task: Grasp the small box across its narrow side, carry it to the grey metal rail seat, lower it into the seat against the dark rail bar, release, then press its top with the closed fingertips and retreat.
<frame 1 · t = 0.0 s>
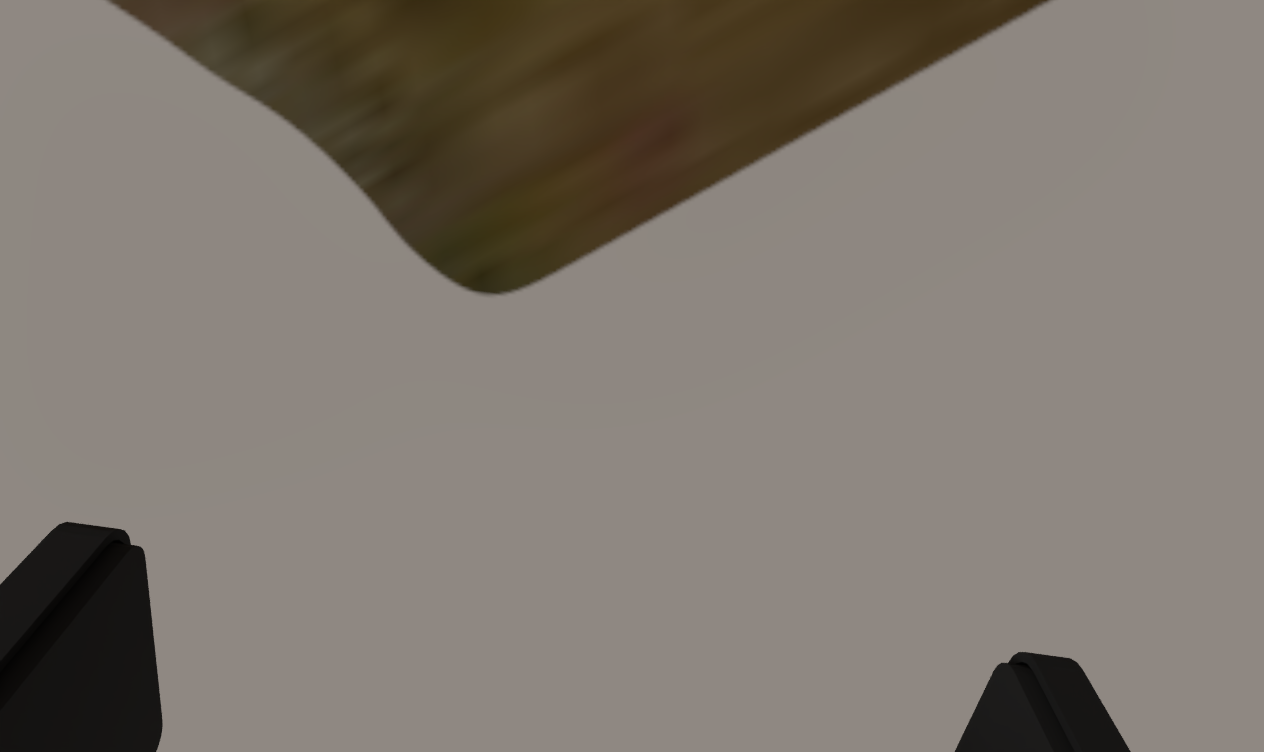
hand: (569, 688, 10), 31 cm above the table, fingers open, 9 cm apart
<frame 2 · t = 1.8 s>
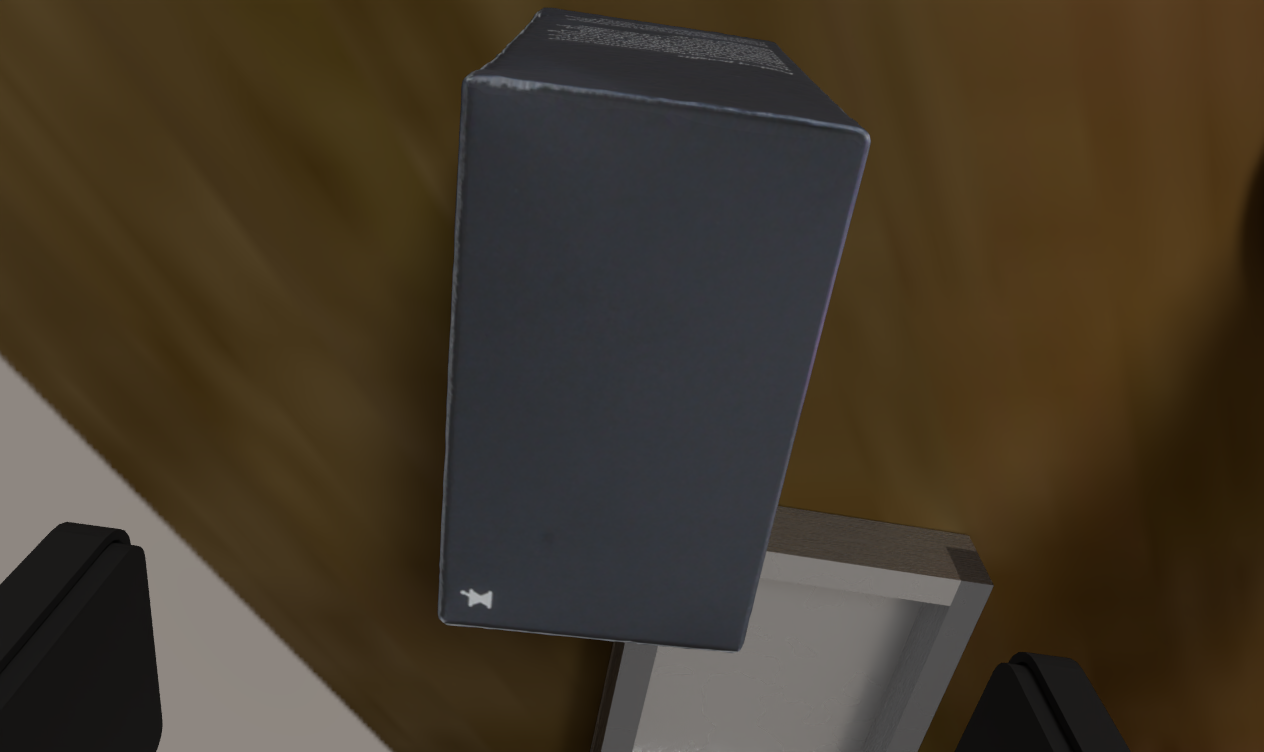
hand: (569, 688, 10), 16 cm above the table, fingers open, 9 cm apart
rail seat: (756, 674, 32), on the table
small box: (636, 224, 24), on the table
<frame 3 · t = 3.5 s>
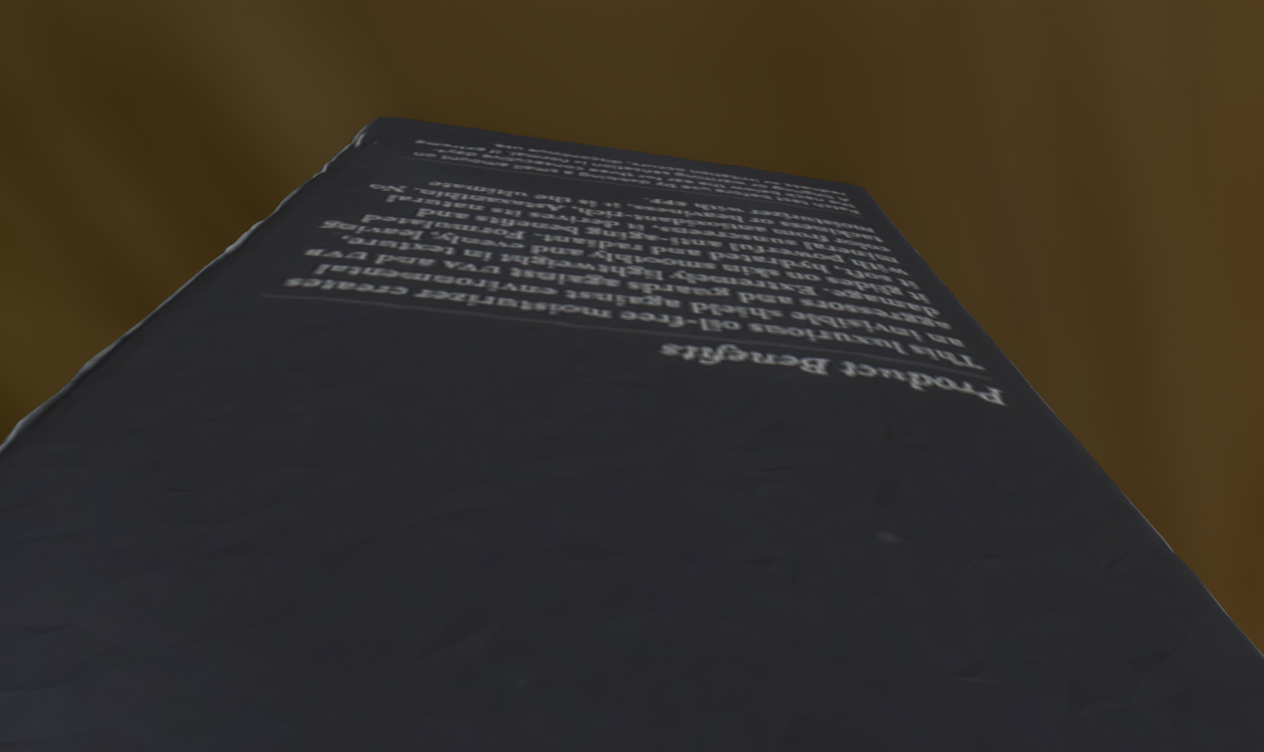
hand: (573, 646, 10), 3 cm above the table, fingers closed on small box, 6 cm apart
small box: (585, 498, 13), on the table, touching gripper
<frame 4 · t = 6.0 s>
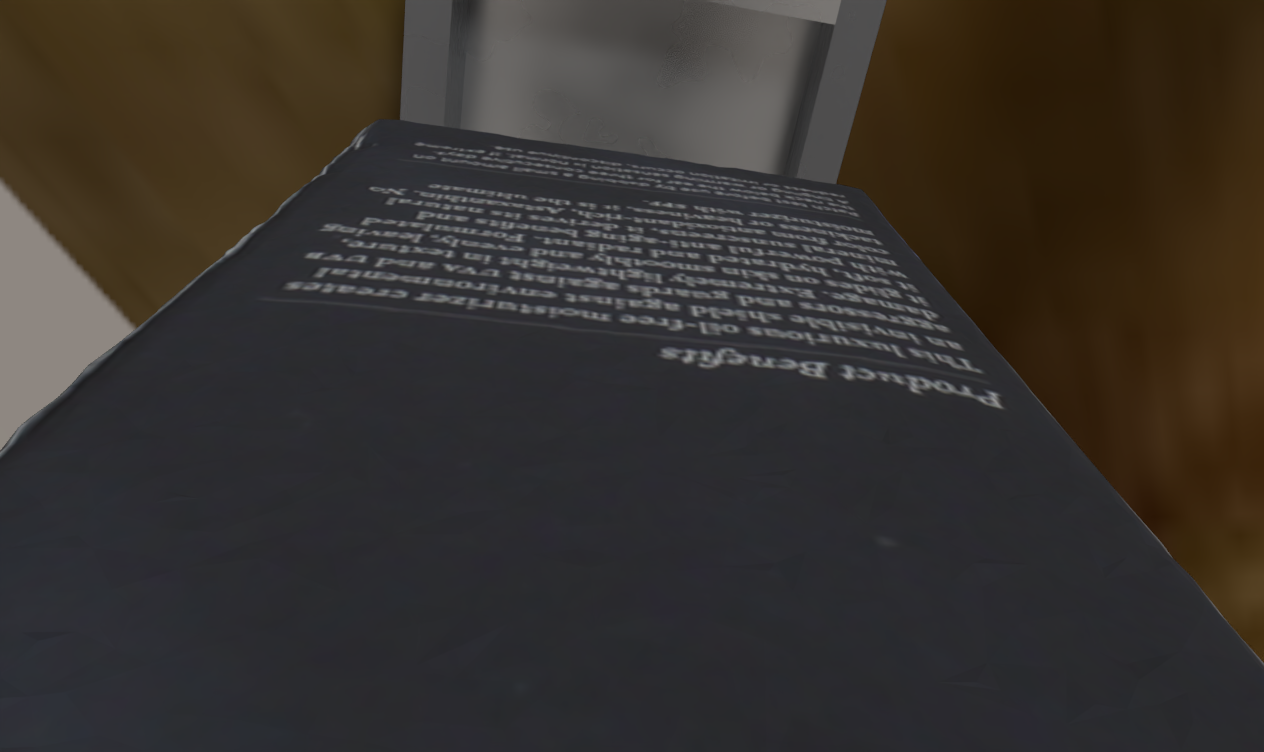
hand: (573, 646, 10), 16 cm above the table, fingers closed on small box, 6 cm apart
rail seat: (611, 223, 25), on the table
small box: (584, 499, 13), point 13 cm above the table, touching gripper
when the fingers open (5 cm above the table, at t = 8.5 s): small box drops 1 cm, resting on rail seat.
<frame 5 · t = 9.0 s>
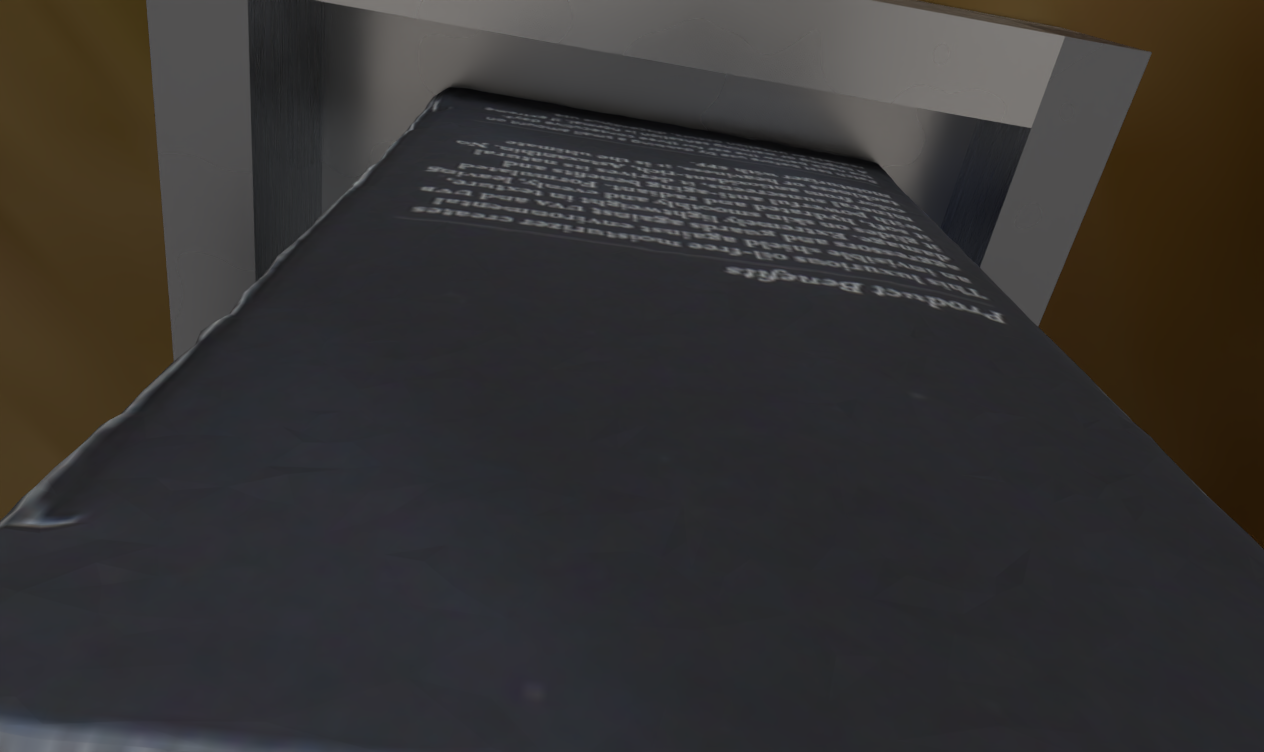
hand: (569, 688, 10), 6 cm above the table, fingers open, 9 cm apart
rail seat: (593, 429, 15), on the table
small box: (613, 445, 14), point 1 cm above the table, touching rail seat
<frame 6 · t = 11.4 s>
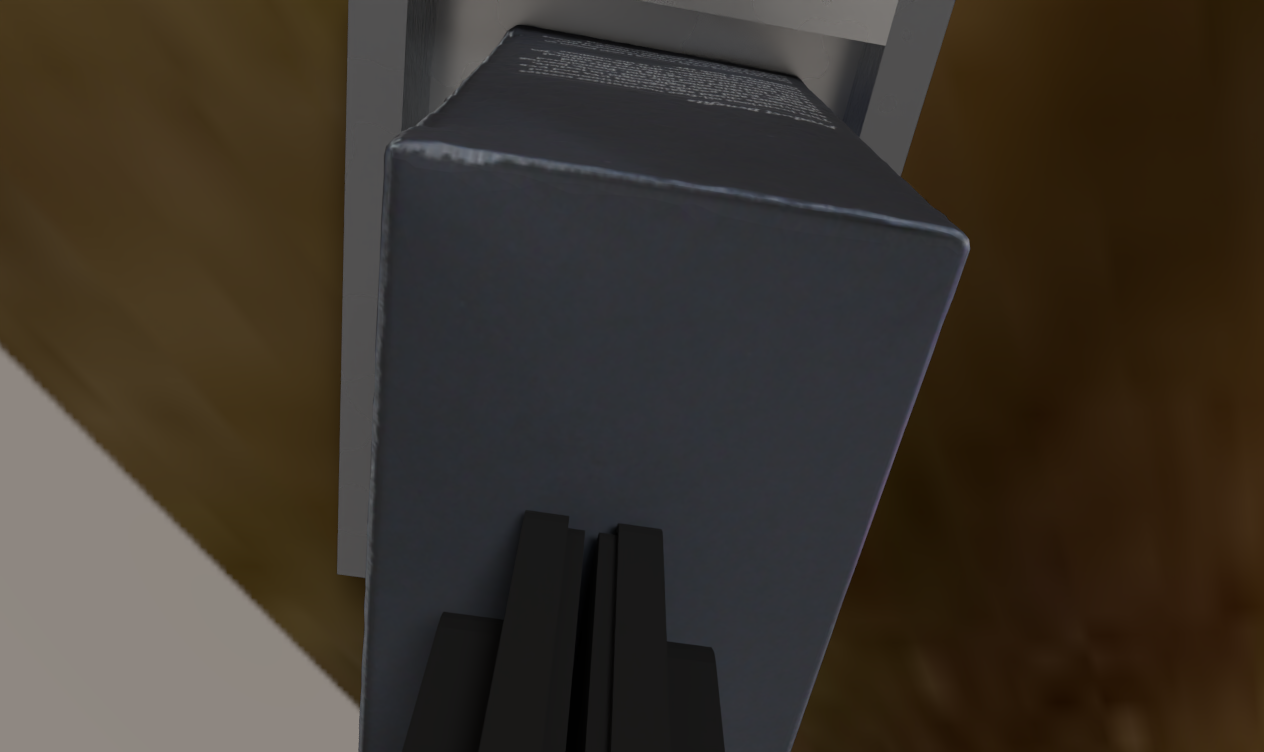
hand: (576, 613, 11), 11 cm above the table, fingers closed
rail seat: (607, 277, 21), on the table
small box: (622, 284, 20), point 1 cm above the table, touching gripper, rail seat
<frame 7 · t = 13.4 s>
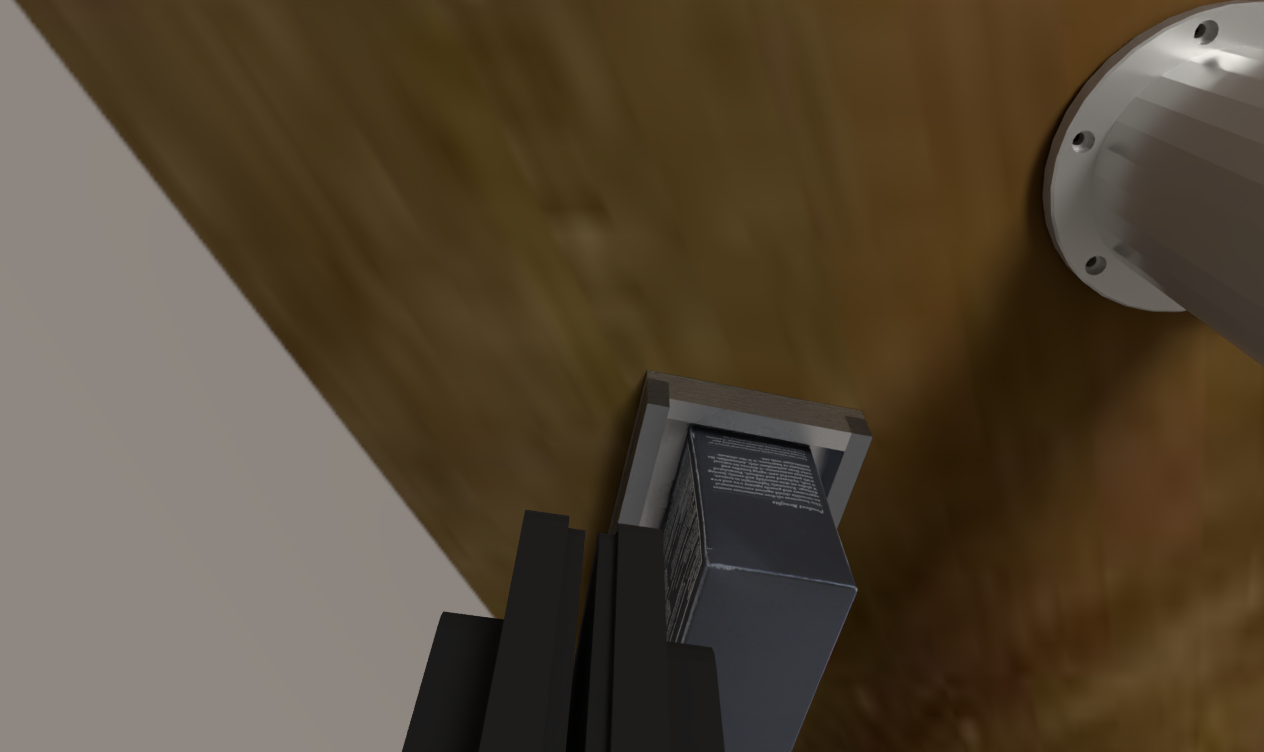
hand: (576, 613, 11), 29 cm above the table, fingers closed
rail seat: (717, 512, 46), on the table
small box: (726, 519, 45), point 1 cm above the table, touching rail seat
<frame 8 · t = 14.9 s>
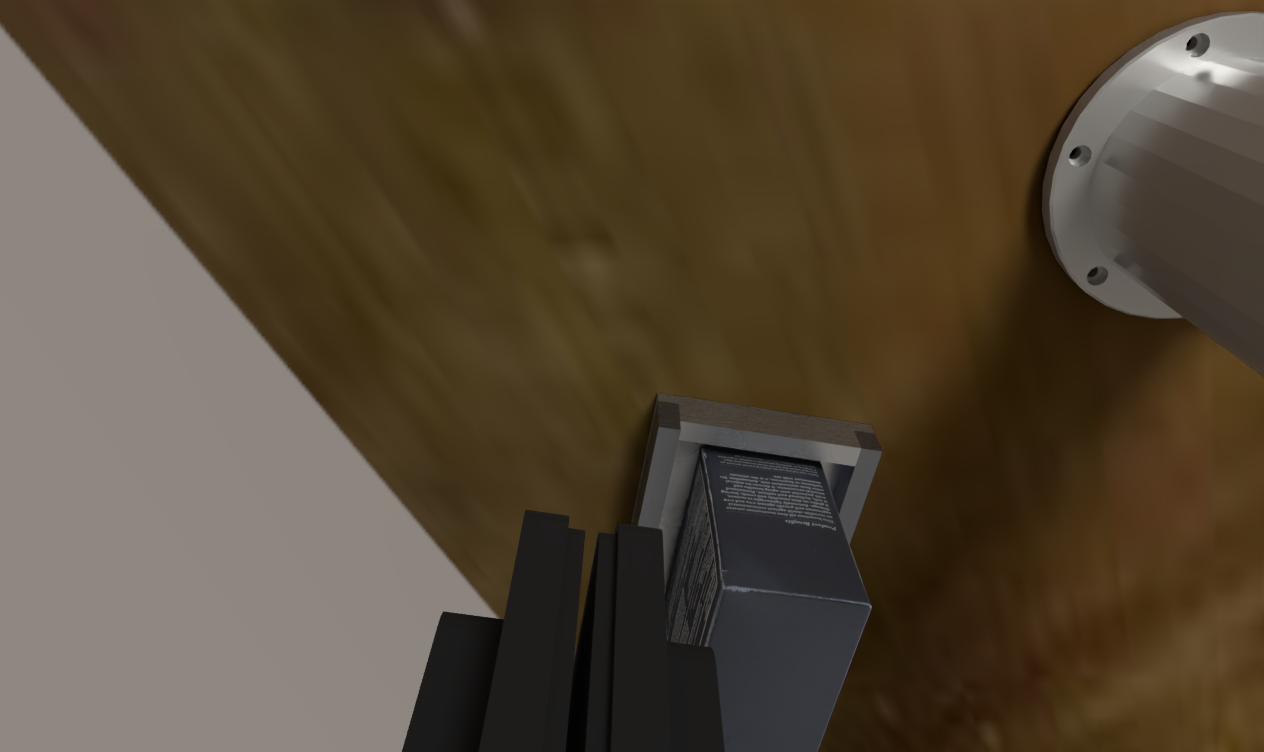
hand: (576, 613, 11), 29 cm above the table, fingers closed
rail seat: (732, 528, 46), on the table
small box: (740, 535, 46), point 1 cm above the table, touching rail seat
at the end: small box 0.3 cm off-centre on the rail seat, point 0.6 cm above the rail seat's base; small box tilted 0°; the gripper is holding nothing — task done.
